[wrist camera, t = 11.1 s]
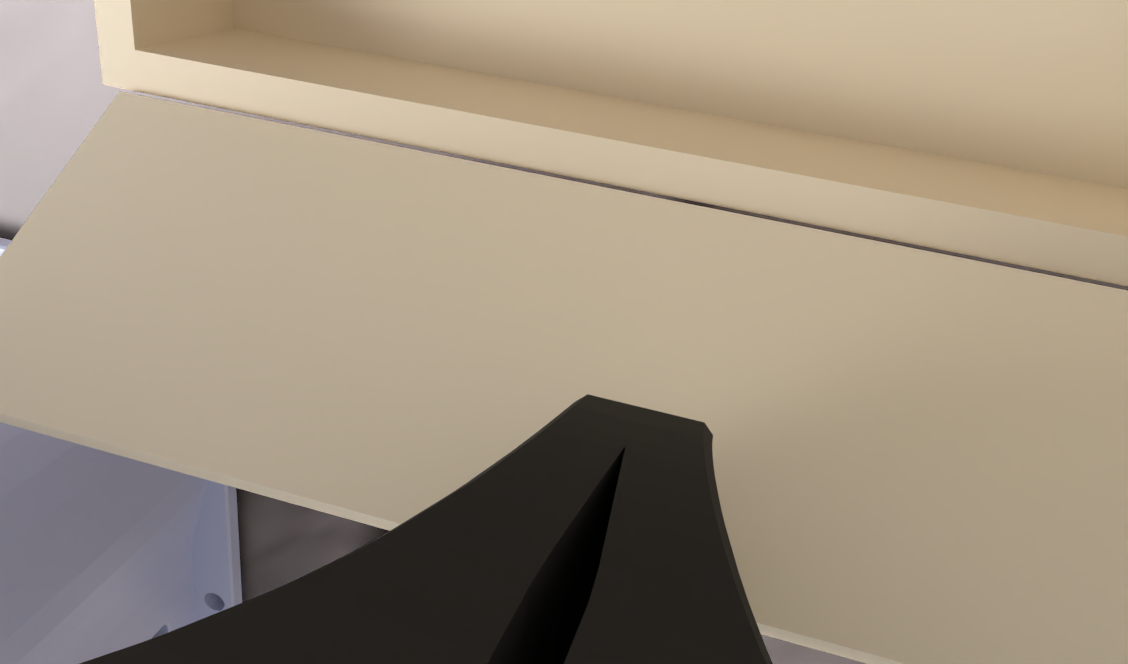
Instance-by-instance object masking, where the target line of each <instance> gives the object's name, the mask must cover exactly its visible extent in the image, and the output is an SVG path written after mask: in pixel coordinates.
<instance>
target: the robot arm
mask: <svg viewBox="0 0 1128 664" xmlns="http://www.w3.org/2000/svg"><path fill="white" fill-rule="evenodd" d="M11 241H12V240H9V239H4V238H0V256H1V255H2V253H3V252H4V251H5V249H6V248H7V246H8V245H9V244H10V242H11ZM712 441H713V434H712V433H711V431H710V430H709V428H708V427H707V425H706V424H705V422H701V421H697V420H692V419H688V418H684V417H680V416H676V415H672V414H667V413H663V412H659V411H655V410H651V409H647V408H643V407H638V406H634V405H630V404H626V403H622V402H618V401H614V400H609V399H605V398H601V397H597V396H593V395H589V394H587V395H586V396H584V397H582V398H580V399H579V400H577V401H575V402H574V403H573V404H572V405H570V406H569V407H568V408H567V409H565V410H564V411H563V412H562V413H560V414H559V415H558V416H557V417H555V418H554V419H553V420H552V421H550V422H549V423H548V424H547V425H545V426H544V427H543V428H541V429H540V430H539V431H538V432H536V433H535V434H534V435H532V436H531V437H530V438H528V439H527V440H526V441H524V442H523V443H522V444H521V445H519V446H518V447H517V448H515V449H514V450H513V451H511V452H510V453H508V454H507V455H506V456H504V457H503V458H501V459H500V460H498V461H497V462H496V463H494V464H493V465H491V466H490V467H489V468H487V469H486V470H484V471H483V472H481V473H480V474H479V475H477V476H476V477H474V478H473V479H471V480H470V481H469V482H467V483H466V484H464V485H463V486H461V487H460V488H458V489H457V490H455V491H454V492H452V493H451V494H449V495H448V496H446V497H444V498H443V499H441V500H439V501H438V502H436V503H434V504H433V505H431V506H430V507H428V508H426V509H425V510H423V511H421V512H420V513H418V514H417V515H415V516H413V517H412V518H410V519H408V520H407V521H405V522H404V523H402V524H400V525H399V526H397V527H395V528H394V529H392V530H391V531H389V532H387V533H385V534H384V535H382V536H380V537H378V538H376V539H375V540H373V541H371V542H369V543H367V544H366V545H364V546H362V547H360V548H358V549H356V550H355V551H353V552H351V553H349V554H347V555H345V556H343V557H341V558H339V559H337V560H336V561H334V562H332V563H330V564H328V565H326V566H323V567H321V568H319V569H317V570H315V571H313V572H311V573H309V574H307V575H305V576H303V577H301V578H299V579H297V580H295V581H293V582H290V583H288V584H286V585H284V586H282V587H279V588H277V589H275V590H273V591H270V592H268V593H265V594H263V595H260V596H258V597H255V598H253V599H250V600H248V601H245V602H243V603H242V588H241V569H240V550H239V532H238V513H237V494H236V488H234V487H231V486H227V485H224V484H220V483H216V482H213V481H209V480H206V479H202V478H199V477H195V476H191V475H188V474H184V473H181V472H177V471H173V470H170V469H166V468H163V467H159V466H155V465H152V464H148V463H145V462H141V461H138V460H134V459H130V458H127V457H123V456H120V455H116V454H112V453H109V452H105V451H102V450H98V449H94V448H91V447H87V446H84V445H80V444H76V443H73V442H69V441H66V440H62V439H59V438H55V437H51V436H48V435H44V434H41V433H37V432H33V431H30V430H26V429H23V428H19V427H15V426H12V425H8V424H5V423H1V422H0V664H772V661H771V659H770V657H769V654H768V652H767V649H766V647H765V644H764V642H763V639H762V636H761V634H760V631H759V628H758V626H757V623H756V620H755V618H754V615H753V612H752V610H751V607H750V604H749V602H748V599H747V596H746V593H745V590H744V587H743V584H742V581H741V578H740V575H739V572H738V568H737V565H736V561H735V558H734V554H733V551H732V547H731V544H730V540H729V537H728V533H727V530H726V526H725V522H724V518H723V514H722V510H721V505H720V500H719V495H718V490H717V485H716V479H715V472H714V465H713V451H712Z"/></svg>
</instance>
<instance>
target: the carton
mask: <svg viewBox="0 0 1128 664" xmlns="http://www.w3.org/2000/svg"><path fill="white" fill-rule="evenodd" d="M94 7H95V16H96V25H97V34H98V43H99V53H100V62H101V71H102V80H103V85H106V86H112V87H117V88H122V89H127V90H132V91H137V92H142V93H147V94H152V95H157V96H162V97H167V98H172V99H178V100H183V101H188V102H193V103H198V104H203V105H208V106H213V107H218V108H223V109H228V110H233V111H238V112H244V113H249V114H254V115H259V116H264V117H269V118H274V119H279V120H284V121H289V122H294V123H299V124H305V125H310V126H315V127H320V128H325V129H330V130H335V131H340V132H345V133H350V134H355V135H360V136H365V137H371V138H376V139H381V140H386V141H391V142H396V143H401V144H406V145H411V146H416V147H421V148H426V149H431V150H437V151H442V152H447V153H452V154H457V155H462V156H467V157H472V158H477V159H482V160H487V161H492V162H498V163H503V164H508V165H513V166H518V167H523V168H528V169H533V170H538V171H543V172H548V173H553V174H558V175H564V176H569V177H574V178H579V179H584V180H589V181H594V182H599V183H604V184H609V185H614V186H619V187H625V188H630V189H635V190H640V191H645V192H650V193H655V194H660V195H665V196H670V197H675V198H680V199H685V200H691V201H696V202H701V203H706V204H711V205H716V206H721V207H726V208H731V209H736V210H741V211H746V212H751V213H757V214H762V215H767V216H772V217H777V218H782V219H787V220H792V221H797V222H802V223H807V224H812V225H818V226H823V227H828V228H833V229H838V230H843V231H848V232H853V233H858V234H863V235H868V236H873V237H878V238H884V239H889V240H894V241H899V242H904V243H909V244H914V245H919V246H924V247H929V248H934V249H939V250H944V251H950V252H955V253H960V254H965V255H970V256H975V257H980V258H985V259H990V260H995V261H1000V262H1005V263H1011V264H1016V265H1021V266H1026V267H1031V268H1036V269H1041V270H1046V271H1051V272H1056V273H1061V274H1066V275H1071V276H1077V277H1082V278H1087V279H1092V280H1097V281H1102V282H1107V283H1112V284H1117V285H1122V286H1127V287H1128V0H94Z"/></svg>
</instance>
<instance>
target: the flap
mask: <svg viewBox="0 0 1128 664" xmlns="http://www.w3.org/2000/svg"><path fill="white" fill-rule="evenodd" d="M587 394H589V395H593V396H597V397H601V398H605V399H609V400H614V401H618V402H622V403H626V404H630V405H634V406H638V407H643V408H647V409H651V410H655V411H659V412H663V413H667V414H672V415H676V416H680V417H684V418H688V419H692V420H697V421H701V422H705V424H706V425H707V427H708V428H709V430H710V431H711V433H712V434H713V441H712V451H713V465H714V472H715V479H716V485H717V490H718V495H719V500H720V505H721V510H722V514H723V518H724V522H725V526H726V530H727V533H728V537H729V540H730V544H731V547H732V551H733V554H734V558H735V561H736V565H737V568H738V572H739V575H740V578H741V581H742V584H743V587H744V590H745V593H746V596H747V599H748V602H749V604H750V607H751V610H752V612H753V615H754V618H755V620H756V623H757V626H758V628H759V631H760V634H762V635H766V636H769V637H773V638H777V639H780V640H784V641H787V642H791V643H795V644H798V645H802V646H805V647H809V648H812V649H816V650H820V651H823V652H827V653H830V654H834V655H838V656H841V657H845V658H848V659H852V660H856V661H859V662H863V663H866V664H1128V290H1123V289H1117V288H1112V287H1107V286H1102V285H1097V284H1092V283H1087V282H1082V281H1077V280H1072V279H1067V278H1062V277H1057V276H1052V275H1047V274H1042V273H1036V272H1031V271H1026V270H1021V269H1016V268H1011V267H1006V266H1001V265H996V264H991V263H986V262H981V261H976V260H971V259H966V258H961V257H956V256H950V255H945V254H940V253H935V252H930V251H925V250H920V249H915V248H910V247H905V246H900V245H895V244H890V243H885V242H880V241H875V240H869V239H864V238H859V237H854V236H849V235H844V234H839V233H834V232H829V231H824V230H819V229H814V228H809V227H804V226H799V225H794V224H789V223H783V222H778V221H773V220H768V219H763V218H758V217H753V216H748V215H743V214H738V213H733V212H728V211H723V210H718V209H713V208H708V207H702V206H697V205H692V204H687V203H682V202H677V201H672V200H667V199H662V198H657V197H652V196H647V195H642V194H637V193H632V192H627V191H622V190H616V189H611V188H606V187H601V186H596V185H591V184H586V183H581V182H576V181H571V180H566V179H561V178H556V177H551V176H546V175H541V174H535V173H530V172H525V171H520V170H515V169H510V168H505V167H500V166H495V165H490V164H485V163H480V162H475V161H470V160H465V159H460V158H455V157H449V156H444V155H439V154H434V153H429V152H424V151H419V150H414V149H409V148H404V147H399V146H394V145H389V144H384V143H379V142H374V141H368V140H363V139H358V138H353V137H348V136H343V135H338V134H333V133H328V132H323V131H318V130H313V129H308V128H303V127H298V126H293V125H288V124H282V123H277V122H272V121H267V120H262V119H257V118H252V117H247V116H242V115H237V114H232V113H227V112H222V111H217V110H212V109H207V108H201V107H196V106H191V105H186V104H181V103H176V102H171V101H166V100H161V99H156V98H151V97H146V96H141V95H136V94H131V93H126V92H121V91H120V92H119V93H118V94H117V96H116V97H115V99H114V100H113V101H112V103H111V104H110V105H109V107H108V108H107V110H106V111H105V112H104V114H103V115H102V117H101V118H100V119H99V121H98V122H97V123H96V125H95V126H94V128H93V129H92V130H91V132H90V133H89V134H88V136H87V137H86V139H85V140H84V141H83V143H82V144H81V146H80V147H79V148H78V150H77V151H76V152H75V154H74V155H73V157H72V158H71V159H70V161H69V162H68V164H67V165H66V166H65V168H64V169H63V170H62V172H61V173H60V175H59V176H58V177H57V179H56V180H55V181H54V183H53V184H52V186H51V187H50V188H49V190H48V191H47V193H46V194H45V195H44V197H43V198H42V199H41V201H40V202H39V204H38V205H37V206H36V208H35V209H34V211H33V212H32V213H31V215H30V216H29V217H28V219H27V220H26V222H25V223H24V224H23V226H22V227H21V229H20V230H19V231H18V233H17V234H16V235H15V237H14V238H13V240H12V241H11V242H10V244H9V245H8V246H7V248H6V249H5V251H4V252H3V253H2V255H1V256H0V422H1V423H5V424H8V425H12V426H15V427H19V428H23V429H26V430H30V431H33V432H37V433H41V434H44V435H48V436H51V437H55V438H59V439H62V440H66V441H69V442H73V443H76V444H80V445H84V446H87V447H91V448H94V449H98V450H102V451H105V452H109V453H112V454H116V455H120V456H123V457H127V458H130V459H134V460H138V461H141V462H145V463H148V464H152V465H155V466H159V467H163V468H166V469H170V470H173V471H177V472H181V473H184V474H188V475H191V476H195V477H199V478H202V479H206V480H209V481H213V482H216V483H220V484H224V485H227V486H231V487H234V488H238V489H242V490H245V491H249V492H252V493H256V494H260V495H263V496H267V497H270V498H274V499H278V500H281V501H285V502H288V503H292V504H295V505H299V506H303V507H306V508H310V509H313V510H317V511H321V512H324V513H328V514H331V515H335V516H339V517H342V518H346V519H349V520H353V521H357V522H360V523H364V524H367V525H371V526H374V527H378V528H382V529H385V530H389V531H391V530H392V529H394V528H395V527H397V526H399V525H400V524H402V523H404V522H405V521H407V520H408V519H410V518H412V517H413V516H415V515H417V514H418V513H420V512H421V511H423V510H425V509H426V508H428V507H430V506H431V505H433V504H434V503H436V502H438V501H439V500H441V499H443V498H444V497H446V496H448V495H449V494H451V493H452V492H454V491H455V490H457V489H458V488H460V487H461V486H463V485H464V484H466V483H467V482H469V481H470V480H471V479H473V478H474V477H476V476H477V475H479V474H480V473H481V472H483V471H484V470H486V469H487V468H489V467H490V466H491V465H493V464H494V463H496V462H497V461H498V460H500V459H501V458H503V457H504V456H506V455H507V454H508V453H510V452H511V451H513V450H514V449H515V448H517V447H518V446H519V445H521V444H522V443H523V442H524V441H526V440H527V439H528V438H530V437H531V436H532V435H534V434H535V433H536V432H538V431H539V430H540V429H541V428H543V427H544V426H545V425H547V424H548V423H549V422H550V421H552V420H553V419H554V418H555V417H557V416H558V415H559V414H560V413H562V412H563V411H564V410H565V409H567V408H568V407H569V406H570V405H572V404H573V403H574V402H575V401H577V400H579V399H580V398H582V397H584V396H586V395H587Z"/></svg>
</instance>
